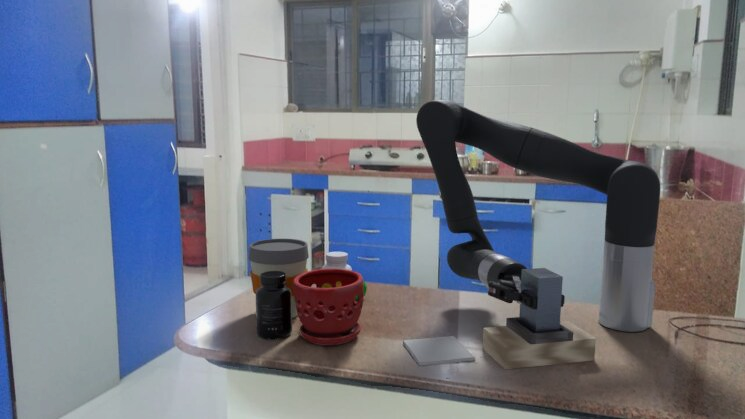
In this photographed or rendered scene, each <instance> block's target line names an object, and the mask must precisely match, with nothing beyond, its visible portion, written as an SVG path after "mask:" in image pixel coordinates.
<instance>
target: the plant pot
mask: <svg viewBox="0 0 745 419" xmlns="http://www.w3.org/2000/svg"><path fill="white" fill-rule="evenodd" d="M337 281H340V282H341V284H342V286H341V287H337V286H336V282H337ZM363 281H364V277H363V276H362V274H361V273H359V272H358V271H354V270H352V271H351V270H346V269H322V268H319V269H314V270H309V271H308V272H305V273H302V274H300V275H298V276H297V277H296V278H295V279H294V281H293V285H294V298H295V303H296V310H297V314H298V316H297V317H298V319H299V321H300V323H301V326H300V327H299V332H300V334H301V336H302V338H303V339H304V340H306V341H308V342H309V343H312V344H315V345H320V346H336V345H344V344H346V343H348V342H351V341H353V340H354V339H355V338H356V337H358V335H360V333H361V330H362V329H361V324H360V323H359V322H358V321H359V319H360V317H361V315H362V314H361V313H362V310H363V306H364V305H363V304H364V297H363V295H364V286H363ZM325 283H329V284H330V285H331V286H332V288H322V285H323V284H325ZM313 285H315V287H313ZM357 295H358V300H355V297H356V296H357Z"/></svg>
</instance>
